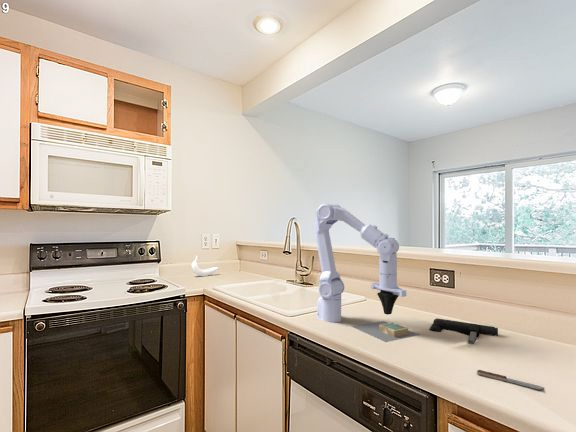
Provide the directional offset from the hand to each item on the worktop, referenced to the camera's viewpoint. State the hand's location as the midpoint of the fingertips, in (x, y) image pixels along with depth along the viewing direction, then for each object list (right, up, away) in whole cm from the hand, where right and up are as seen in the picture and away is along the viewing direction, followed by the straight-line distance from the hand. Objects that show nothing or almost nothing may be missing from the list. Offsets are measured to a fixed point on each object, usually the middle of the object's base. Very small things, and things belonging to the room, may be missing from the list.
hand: (387, 313), depth 114 cm
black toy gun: (+24, -7, -2) cm, 26 cm away
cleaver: (+19, -7, -34) cm, 39 cm away
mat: (-1, -6, 0) cm, 6 cm away
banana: (-90, -8, +114) cm, 146 cm away
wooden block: (0, -5, +1) cm, 5 cm away
